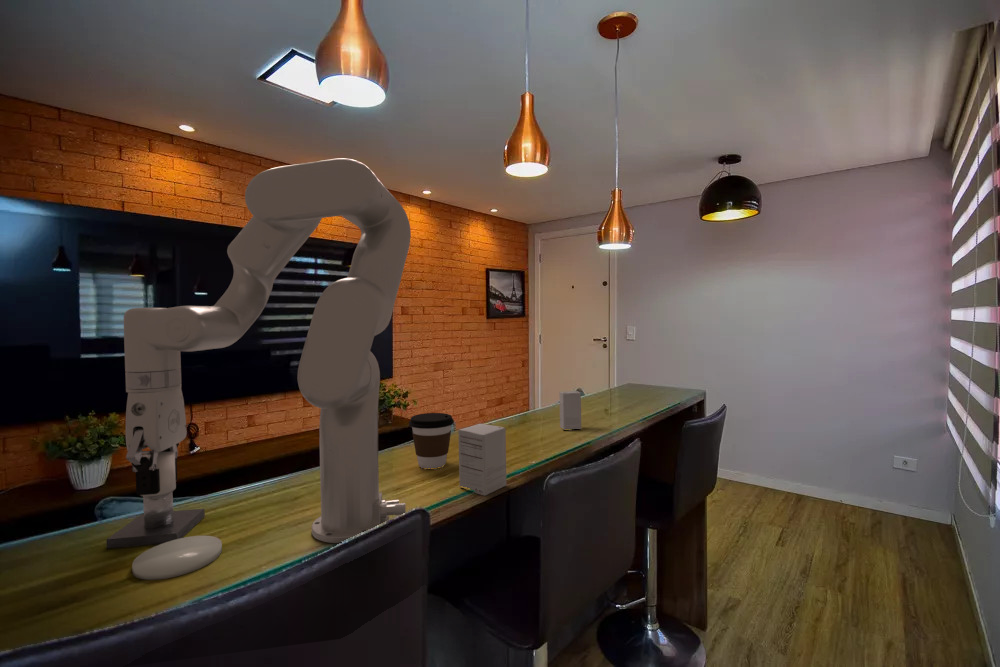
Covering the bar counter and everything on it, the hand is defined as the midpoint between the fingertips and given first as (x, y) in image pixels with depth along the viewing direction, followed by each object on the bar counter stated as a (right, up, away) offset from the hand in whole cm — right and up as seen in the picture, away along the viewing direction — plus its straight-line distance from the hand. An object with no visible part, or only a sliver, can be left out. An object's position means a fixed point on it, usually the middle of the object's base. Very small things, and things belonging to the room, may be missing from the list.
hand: (157, 486), depth 79 cm
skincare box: (+81, -5, +70) cm, 107 cm away
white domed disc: (+10, -8, -9) cm, 16 cm away
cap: (0, -1, 0) cm, 1 cm away
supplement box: (+54, -7, +19) cm, 58 cm away
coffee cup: (+42, -7, +34) cm, 54 cm away
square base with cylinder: (0, -8, 0) cm, 8 cm away
